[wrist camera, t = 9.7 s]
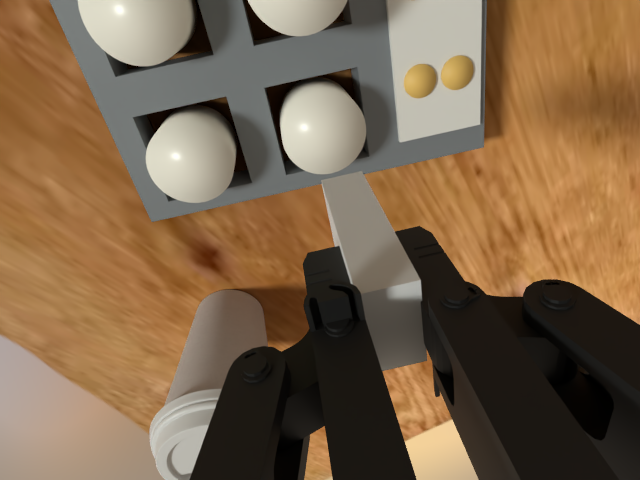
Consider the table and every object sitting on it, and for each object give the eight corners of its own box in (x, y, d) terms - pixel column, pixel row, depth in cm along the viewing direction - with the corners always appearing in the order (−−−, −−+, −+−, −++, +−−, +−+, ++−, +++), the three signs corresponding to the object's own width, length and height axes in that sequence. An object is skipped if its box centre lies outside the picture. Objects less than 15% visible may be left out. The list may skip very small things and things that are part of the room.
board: (44, -59, 25) (14, -65, 22) (466, -153, 25) (495, -172, 22) (159, 204, 35) (149, 225, 32) (467, 135, 35) (487, 149, 32)
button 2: (88, -34, 25) (56, -38, 21) (179, -54, 25) (164, -62, 21) (127, 63, 28) (106, 75, 24) (209, 45, 28) (200, 54, 24)
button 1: (147, 114, 30) (131, 132, 26) (224, 96, 30) (218, 112, 26) (176, 184, 33) (165, 210, 29) (246, 169, 33) (244, 192, 29)
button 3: (270, 86, 30) (272, 100, 26) (347, 69, 30) (360, 81, 26) (288, 159, 33) (292, 182, 29) (358, 143, 33) (371, 164, 29)
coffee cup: (177, 347, 43) (142, 500, 30) (182, 271, 38) (142, 413, 25) (271, 353, 45) (275, 500, 32) (286, 281, 40) (298, 418, 27)
